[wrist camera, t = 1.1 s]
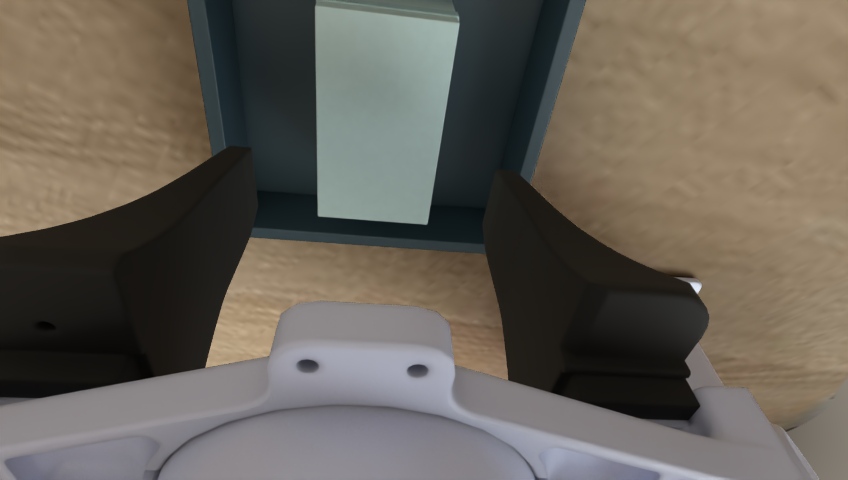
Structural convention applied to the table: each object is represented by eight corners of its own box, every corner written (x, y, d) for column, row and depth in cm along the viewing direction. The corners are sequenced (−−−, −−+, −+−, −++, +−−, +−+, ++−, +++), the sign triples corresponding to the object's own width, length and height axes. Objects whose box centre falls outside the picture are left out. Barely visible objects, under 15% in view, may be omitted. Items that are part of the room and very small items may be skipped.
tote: (497, 213, 26) (509, 256, 24) (244, 193, 25) (224, 236, 22) (574, -75, 18) (605, -61, 15) (204, -130, 17) (165, -125, 14)
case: (424, 170, 24) (428, 226, 20) (328, 162, 23) (316, 217, 20) (450, -12, 19) (461, 21, 15) (329, -27, 18) (312, 3, 15)
